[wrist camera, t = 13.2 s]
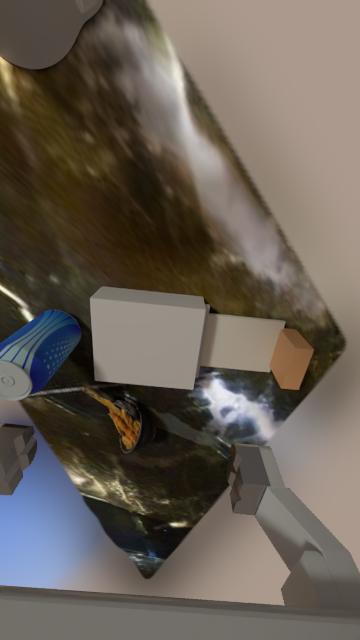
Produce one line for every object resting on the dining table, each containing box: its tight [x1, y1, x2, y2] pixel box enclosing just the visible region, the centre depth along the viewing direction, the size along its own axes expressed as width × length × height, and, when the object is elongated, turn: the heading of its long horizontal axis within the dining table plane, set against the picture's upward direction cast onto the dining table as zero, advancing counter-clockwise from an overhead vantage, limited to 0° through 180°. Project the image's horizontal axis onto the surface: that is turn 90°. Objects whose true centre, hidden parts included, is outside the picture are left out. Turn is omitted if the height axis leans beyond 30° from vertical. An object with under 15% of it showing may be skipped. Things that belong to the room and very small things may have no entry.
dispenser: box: [90, 287, 210, 390], centre depth 44 cm, size 16×19×6 cm
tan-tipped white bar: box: [200, 313, 314, 390], centre depth 42 cm, size 11×22×7 cm, turn 84°
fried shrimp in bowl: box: [82, 386, 156, 454], centre depth 51 cm, size 9×11×18 cm
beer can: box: [0, 310, 81, 401], centre depth 39 cm, size 8×8×16 cm
